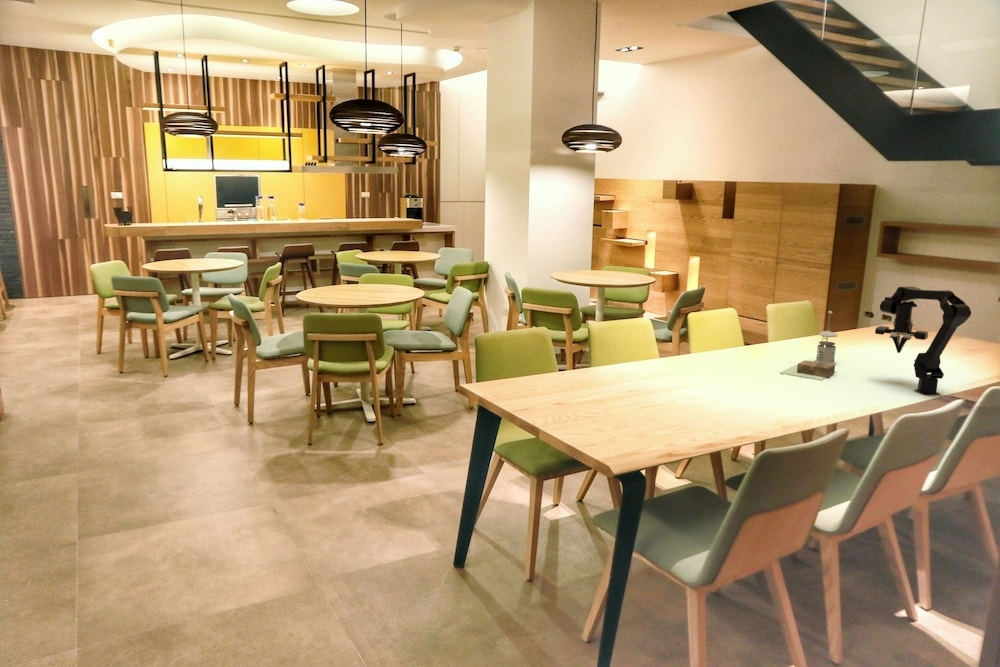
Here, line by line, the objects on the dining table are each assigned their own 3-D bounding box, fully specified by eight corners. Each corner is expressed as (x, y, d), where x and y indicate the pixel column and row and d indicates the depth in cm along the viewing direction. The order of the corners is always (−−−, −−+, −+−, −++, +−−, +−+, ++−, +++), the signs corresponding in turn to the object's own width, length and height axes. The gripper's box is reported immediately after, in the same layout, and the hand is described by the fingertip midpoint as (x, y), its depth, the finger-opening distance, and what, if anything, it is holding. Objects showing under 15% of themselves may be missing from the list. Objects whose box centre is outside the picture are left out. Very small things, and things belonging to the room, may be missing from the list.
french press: (815, 364, 326) (821, 312, 321) (811, 358, 337) (816, 308, 332) (838, 365, 324) (844, 313, 319) (833, 360, 335) (838, 309, 330)
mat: (836, 372, 313) (836, 371, 312) (821, 380, 298) (821, 379, 298) (795, 365, 324) (796, 364, 324) (779, 373, 310) (779, 372, 310)
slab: (835, 365, 307) (804, 360, 316) (828, 368, 301) (797, 363, 309) (834, 373, 308) (804, 368, 317) (827, 377, 302) (796, 372, 310)
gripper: (933, 316, 290) (928, 353, 293) (883, 311, 302) (879, 346, 305) (927, 320, 282) (922, 357, 285) (876, 314, 294) (872, 350, 297)
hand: (898, 352), depth 293 cm, fingers closed
